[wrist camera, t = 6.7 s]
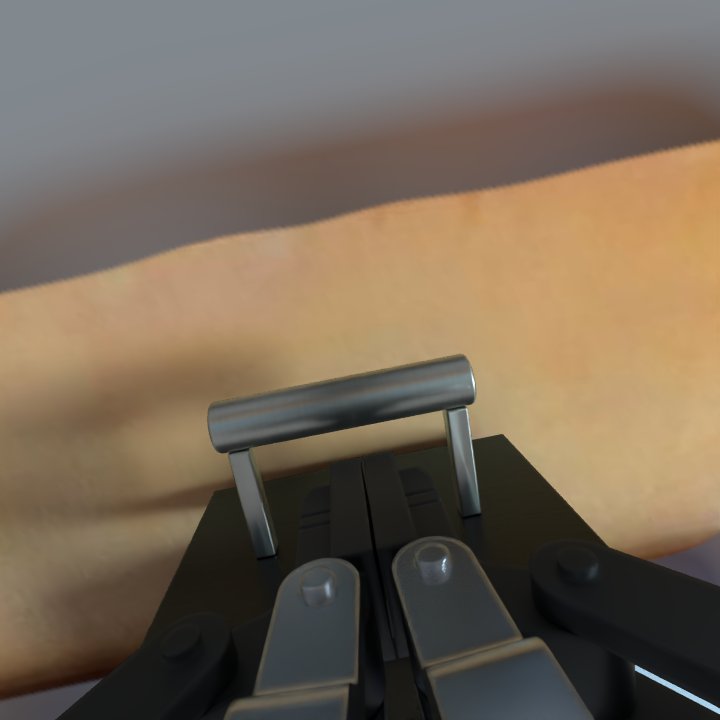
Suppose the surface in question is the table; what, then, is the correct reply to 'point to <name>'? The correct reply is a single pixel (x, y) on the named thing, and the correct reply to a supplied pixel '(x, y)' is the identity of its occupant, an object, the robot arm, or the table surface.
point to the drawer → (285, 495)
